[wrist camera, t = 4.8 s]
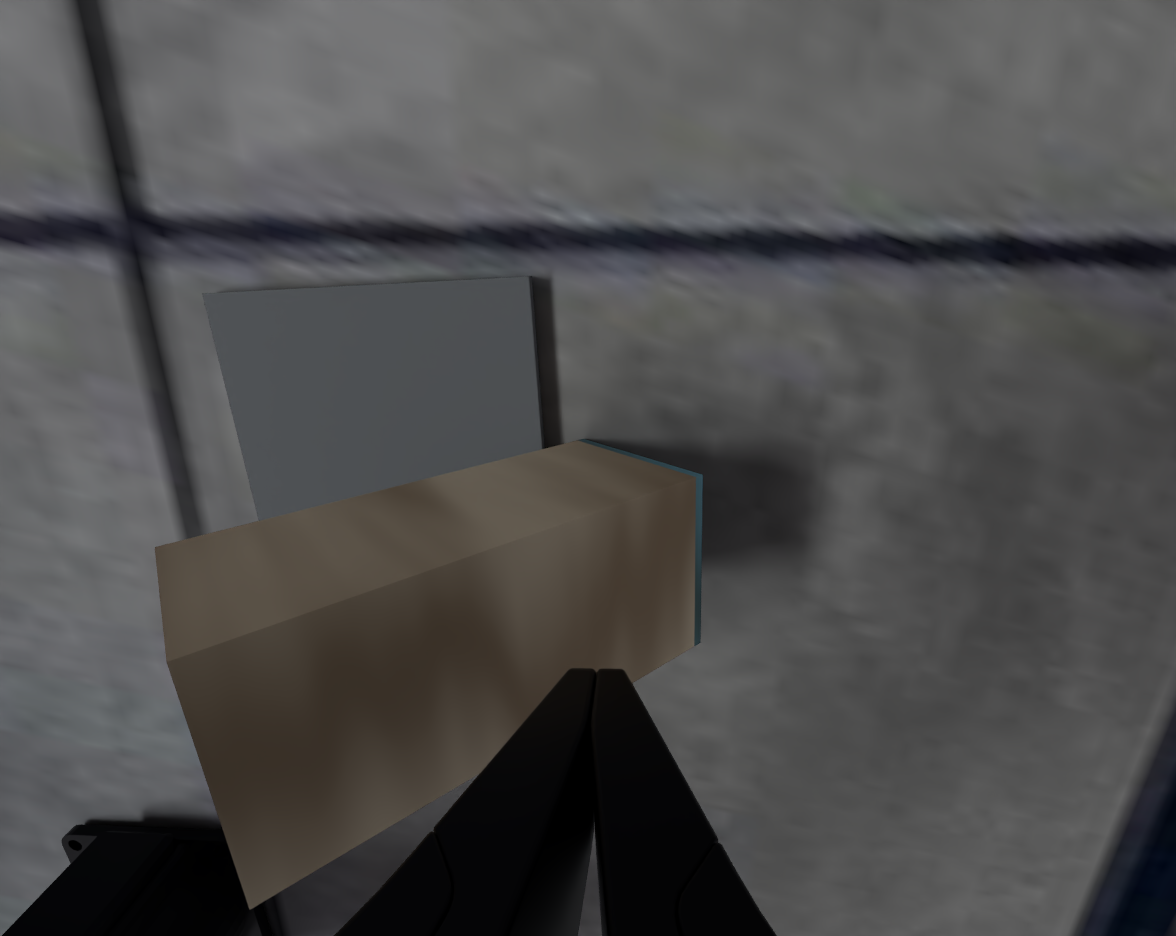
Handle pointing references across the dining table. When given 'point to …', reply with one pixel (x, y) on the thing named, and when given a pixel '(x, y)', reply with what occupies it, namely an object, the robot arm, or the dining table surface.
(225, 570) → the oak block
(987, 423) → the dining table surface
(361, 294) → the mat
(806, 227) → the dining table surface
